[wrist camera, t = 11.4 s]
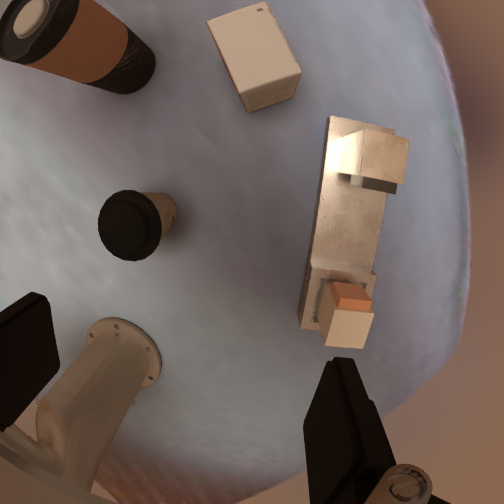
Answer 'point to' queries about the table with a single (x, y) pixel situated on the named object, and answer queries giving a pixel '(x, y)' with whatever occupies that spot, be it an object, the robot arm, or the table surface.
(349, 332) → the beige orange block
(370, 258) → the rail
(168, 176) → the table surface
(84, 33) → the travel mug
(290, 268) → the table surface
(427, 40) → the table surface
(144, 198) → the coffee cup
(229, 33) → the small box
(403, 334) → the table surface
